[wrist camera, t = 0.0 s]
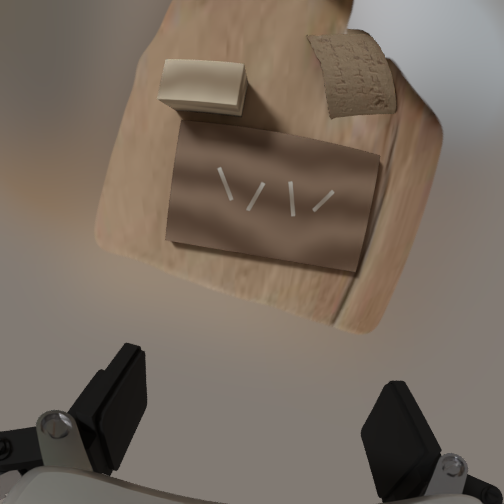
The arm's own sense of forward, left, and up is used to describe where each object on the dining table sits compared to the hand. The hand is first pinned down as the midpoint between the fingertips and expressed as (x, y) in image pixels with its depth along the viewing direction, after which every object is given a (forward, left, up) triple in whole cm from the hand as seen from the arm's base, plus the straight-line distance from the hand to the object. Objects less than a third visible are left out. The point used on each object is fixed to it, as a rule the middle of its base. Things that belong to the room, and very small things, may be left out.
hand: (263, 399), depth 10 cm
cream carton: (-17, -10, -31) cm, 37 cm away
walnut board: (-5, 0, -31) cm, 32 cm away
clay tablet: (-24, +8, -32) cm, 41 cm away
